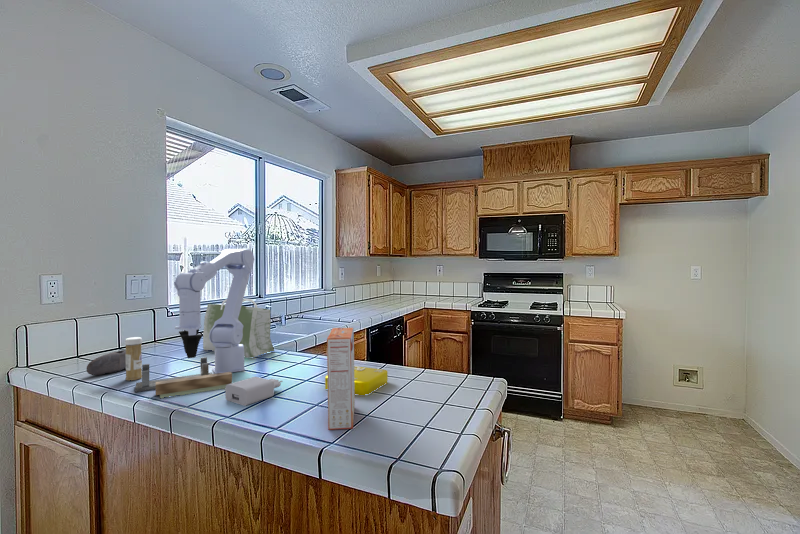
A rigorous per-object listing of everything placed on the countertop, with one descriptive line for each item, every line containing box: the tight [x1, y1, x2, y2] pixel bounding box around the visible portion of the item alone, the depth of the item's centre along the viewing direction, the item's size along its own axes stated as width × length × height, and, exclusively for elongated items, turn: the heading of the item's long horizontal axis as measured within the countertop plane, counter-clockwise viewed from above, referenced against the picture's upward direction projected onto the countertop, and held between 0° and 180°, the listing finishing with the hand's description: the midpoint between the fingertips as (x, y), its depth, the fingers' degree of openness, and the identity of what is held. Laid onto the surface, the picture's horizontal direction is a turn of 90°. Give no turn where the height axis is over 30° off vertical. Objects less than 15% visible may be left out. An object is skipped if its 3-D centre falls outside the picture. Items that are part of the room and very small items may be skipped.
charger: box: [224, 376, 283, 407], centre depth 110 cm, size 5×9×15 cm
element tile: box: [324, 365, 389, 395], centre depth 118 cm, size 15×15×5 cm
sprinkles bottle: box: [124, 336, 143, 382], centre depth 126 cm, size 5×5×14 cm
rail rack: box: [134, 356, 213, 393], centre depth 121 cm, size 21×7×6 cm, turn 123°
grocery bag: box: [202, 298, 275, 358], centre depth 167 cm, size 32×14×23 cm, turn 61°
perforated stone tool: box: [86, 349, 126, 376], centre depth 134 cm, size 15×5×7 cm, turn 155°
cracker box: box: [326, 327, 356, 431], centre depth 93 cm, size 14×6×21 cm, turn 5°
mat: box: [159, 384, 227, 399], centre depth 115 cm, size 19×8×1 cm, turn 123°
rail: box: [155, 372, 233, 396], centre depth 115 cm, size 20×3×3 cm, turn 123°
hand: (190, 355), depth 119 cm, fingers open, 7 cm apart
